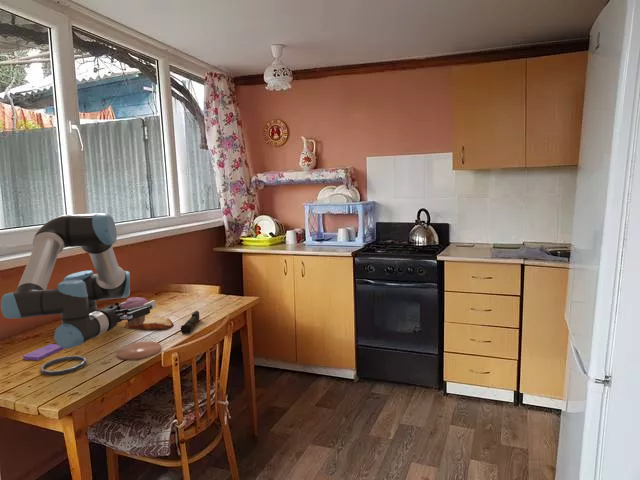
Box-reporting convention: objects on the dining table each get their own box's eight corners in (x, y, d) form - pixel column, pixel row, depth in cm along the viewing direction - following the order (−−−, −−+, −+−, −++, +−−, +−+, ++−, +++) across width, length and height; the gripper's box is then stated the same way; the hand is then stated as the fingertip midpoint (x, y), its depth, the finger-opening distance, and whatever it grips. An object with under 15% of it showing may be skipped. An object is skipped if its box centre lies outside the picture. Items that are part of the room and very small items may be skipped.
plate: (107, 356, 165) (107, 354, 165) (138, 342, 179) (138, 339, 179) (140, 362, 159) (140, 359, 159) (169, 346, 173) (169, 344, 173)
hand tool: (190, 334, 187) (189, 323, 186) (180, 334, 187) (179, 323, 186) (204, 319, 205) (204, 309, 205) (196, 319, 206) (195, 309, 205)
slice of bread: (122, 326, 201) (121, 317, 200) (164, 318, 210) (164, 310, 210) (131, 337, 186) (130, 328, 185) (176, 328, 195) (175, 319, 195)
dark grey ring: (32, 371, 154) (31, 368, 154) (67, 357, 166) (67, 354, 166) (60, 377, 149) (60, 373, 149) (94, 361, 161) (94, 358, 161)
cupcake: (127, 321, 171) (125, 295, 170) (152, 319, 172) (149, 293, 171) (121, 329, 162) (118, 301, 161) (146, 327, 164) (144, 299, 162)
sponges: (23, 360, 166) (22, 355, 165) (51, 347, 178) (50, 342, 177) (39, 362, 164) (38, 357, 164) (66, 348, 176) (66, 344, 176)
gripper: (73, 331, 153) (119, 311, 174) (129, 335, 147) (169, 314, 169) (71, 309, 152) (117, 292, 173) (127, 312, 146) (168, 294, 168)
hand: (143, 303), depth 171 cm, fingers closed on cupcake, 9 cm apart
